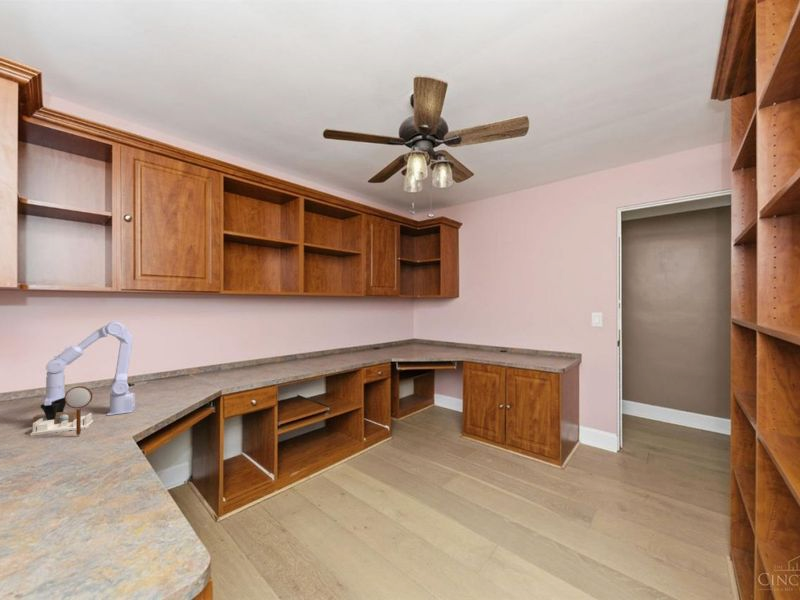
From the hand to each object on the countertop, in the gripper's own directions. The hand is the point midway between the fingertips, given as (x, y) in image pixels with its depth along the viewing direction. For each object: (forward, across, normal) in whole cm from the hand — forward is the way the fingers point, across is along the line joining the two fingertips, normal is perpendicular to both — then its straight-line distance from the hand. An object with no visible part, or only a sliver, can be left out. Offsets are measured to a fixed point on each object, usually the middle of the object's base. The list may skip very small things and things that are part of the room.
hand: (55, 417), depth 148 cm
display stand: (+3, +10, +6) cm, 12 cm away
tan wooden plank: (+3, 0, 0) cm, 3 cm away
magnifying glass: (+3, +24, +15) cm, 28 cm away
